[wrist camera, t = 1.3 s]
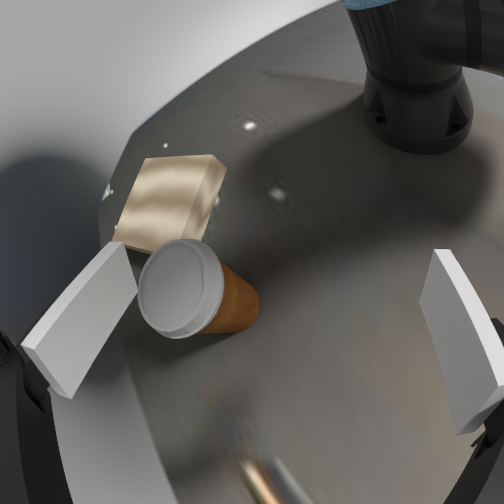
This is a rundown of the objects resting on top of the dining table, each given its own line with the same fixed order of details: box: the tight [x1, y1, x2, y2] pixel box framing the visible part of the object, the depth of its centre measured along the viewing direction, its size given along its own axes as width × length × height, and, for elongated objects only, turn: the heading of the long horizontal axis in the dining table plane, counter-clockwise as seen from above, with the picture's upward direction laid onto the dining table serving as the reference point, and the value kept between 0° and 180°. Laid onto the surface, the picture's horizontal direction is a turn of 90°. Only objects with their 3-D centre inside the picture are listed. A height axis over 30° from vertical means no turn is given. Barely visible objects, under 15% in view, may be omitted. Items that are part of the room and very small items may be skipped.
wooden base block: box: [112, 155, 227, 255], centre depth 46 cm, size 15×15×4 cm
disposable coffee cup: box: [138, 239, 259, 339], centre depth 32 cm, size 10×10×12 cm
